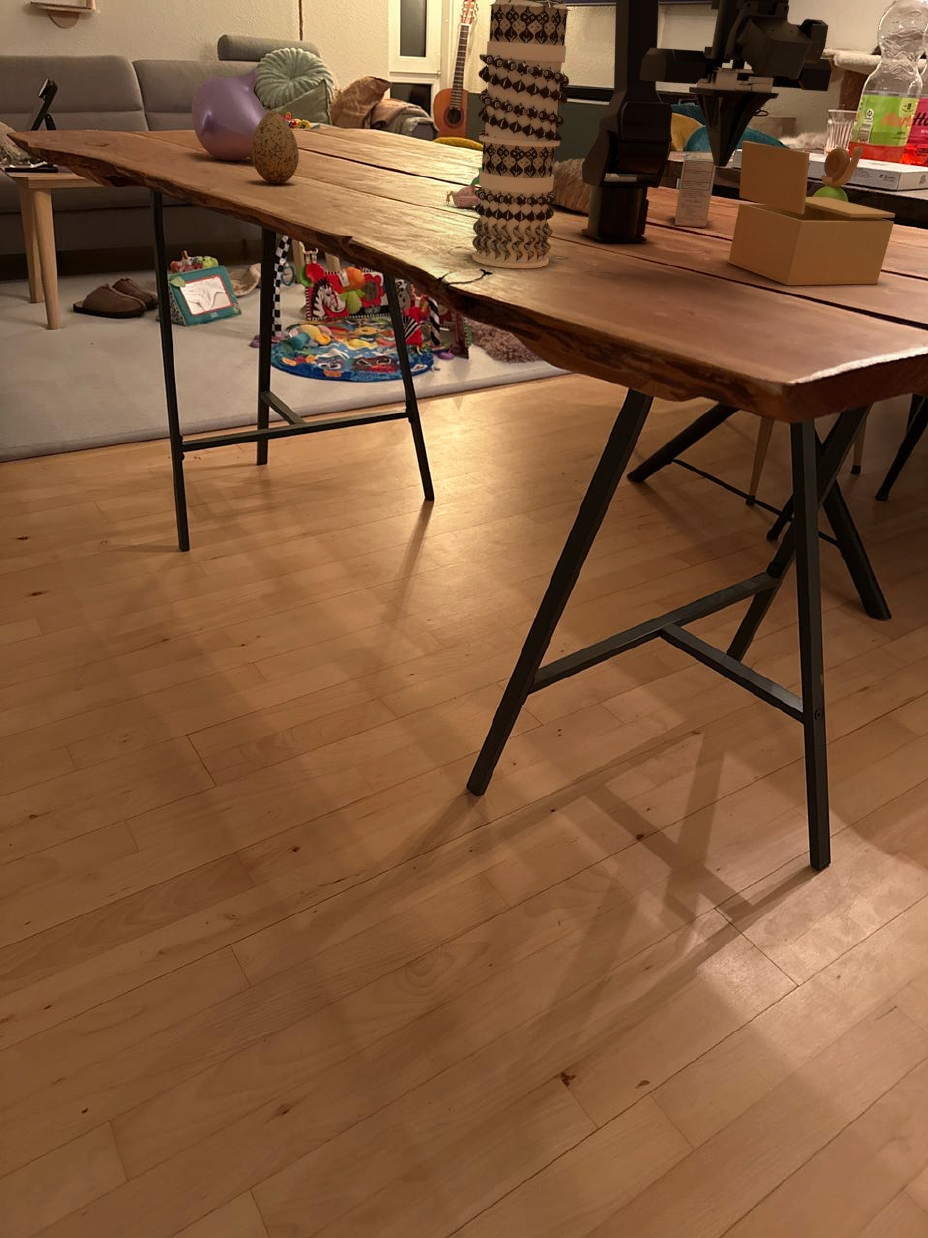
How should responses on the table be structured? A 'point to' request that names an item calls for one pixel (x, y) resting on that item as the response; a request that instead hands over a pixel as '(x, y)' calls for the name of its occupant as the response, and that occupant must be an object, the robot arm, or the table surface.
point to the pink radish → (466, 194)
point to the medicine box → (695, 190)
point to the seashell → (572, 186)
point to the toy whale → (227, 115)
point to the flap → (774, 176)
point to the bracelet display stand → (520, 131)
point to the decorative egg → (274, 149)
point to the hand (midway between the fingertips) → (720, 166)
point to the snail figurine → (839, 172)
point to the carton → (812, 242)
